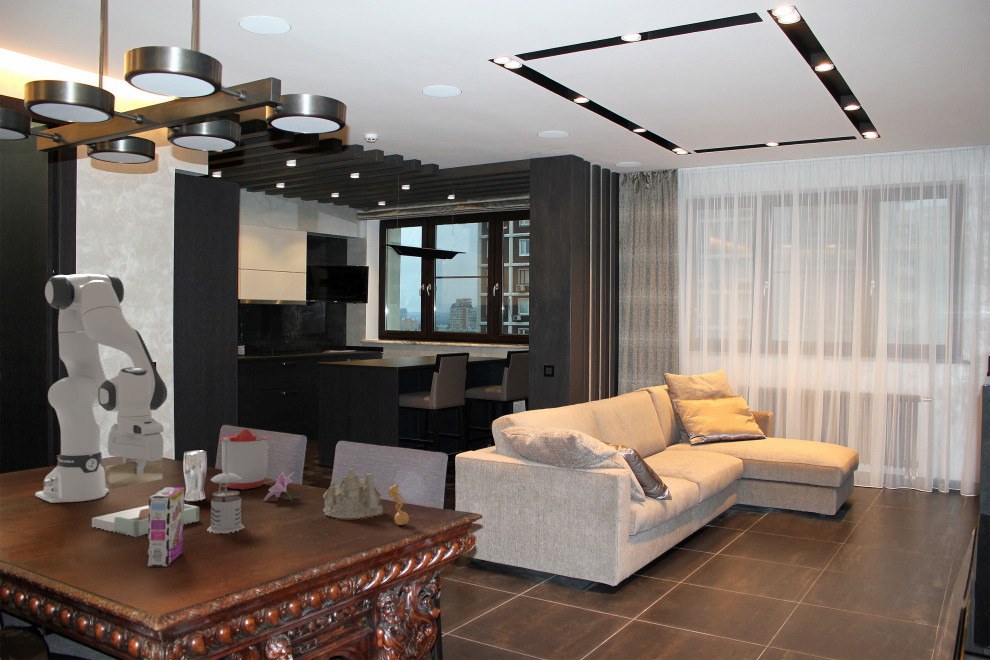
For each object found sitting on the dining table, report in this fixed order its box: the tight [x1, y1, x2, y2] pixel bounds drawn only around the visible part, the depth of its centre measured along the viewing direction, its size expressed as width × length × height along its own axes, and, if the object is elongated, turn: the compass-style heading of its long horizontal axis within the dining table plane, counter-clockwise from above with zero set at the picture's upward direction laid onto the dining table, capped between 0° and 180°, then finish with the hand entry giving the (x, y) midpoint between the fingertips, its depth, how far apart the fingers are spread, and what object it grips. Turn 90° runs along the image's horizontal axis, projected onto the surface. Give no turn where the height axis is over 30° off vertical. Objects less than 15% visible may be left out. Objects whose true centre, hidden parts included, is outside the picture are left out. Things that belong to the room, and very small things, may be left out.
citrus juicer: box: [220, 428, 270, 491], centre depth 266 cm, size 16×17×20 cm
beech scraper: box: [105, 457, 164, 490], centre depth 218 cm, size 2×16×6 cm, turn 150°
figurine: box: [387, 483, 410, 526], centre depth 217 cm, size 8×6×12 cm
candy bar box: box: [147, 486, 185, 568], centre depth 184 cm, size 11×5×16 cm, turn 5°
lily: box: [263, 471, 296, 502], centre depth 246 cm, size 12×12×10 cm
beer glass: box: [182, 450, 208, 502], centre depth 246 cm, size 7×7×15 cm
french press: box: [206, 438, 245, 534], centre depth 213 cm, size 10×12×25 cm
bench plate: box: [91, 504, 149, 533], centre depth 218 cm, size 10×20×2 cm, turn 150°
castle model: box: [322, 468, 384, 518], centre depth 231 cm, size 16×16×15 cm
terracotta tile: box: [139, 508, 149, 519], centre depth 214 cm, size 5×5×2 cm
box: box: [113, 503, 200, 538], centre depth 213 cm, size 9×20×4 cm, turn 150°
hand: (134, 474), depth 218 cm, fingers closed on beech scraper, 2 cm apart
